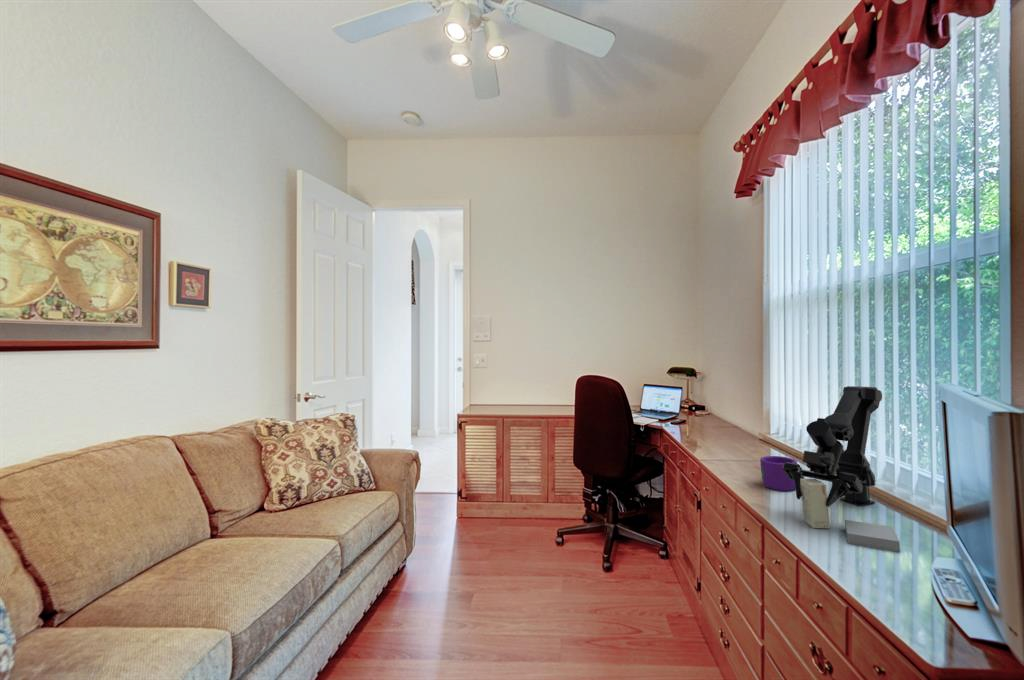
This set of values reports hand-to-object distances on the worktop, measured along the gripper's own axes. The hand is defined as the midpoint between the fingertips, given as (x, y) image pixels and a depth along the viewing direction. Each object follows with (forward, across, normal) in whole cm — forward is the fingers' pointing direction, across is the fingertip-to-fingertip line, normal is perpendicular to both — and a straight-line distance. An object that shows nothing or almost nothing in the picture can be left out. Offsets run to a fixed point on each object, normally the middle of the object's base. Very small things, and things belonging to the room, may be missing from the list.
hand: (812, 502), depth 122 cm
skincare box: (+4, 0, +6) cm, 7 cm away
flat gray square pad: (+4, +13, +6) cm, 15 cm away
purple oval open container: (-16, -24, +25) cm, 38 cm away
